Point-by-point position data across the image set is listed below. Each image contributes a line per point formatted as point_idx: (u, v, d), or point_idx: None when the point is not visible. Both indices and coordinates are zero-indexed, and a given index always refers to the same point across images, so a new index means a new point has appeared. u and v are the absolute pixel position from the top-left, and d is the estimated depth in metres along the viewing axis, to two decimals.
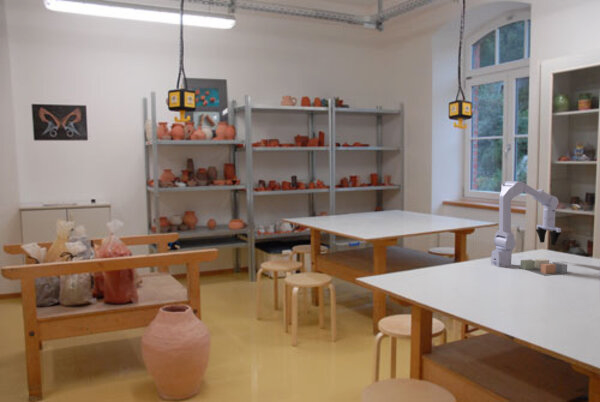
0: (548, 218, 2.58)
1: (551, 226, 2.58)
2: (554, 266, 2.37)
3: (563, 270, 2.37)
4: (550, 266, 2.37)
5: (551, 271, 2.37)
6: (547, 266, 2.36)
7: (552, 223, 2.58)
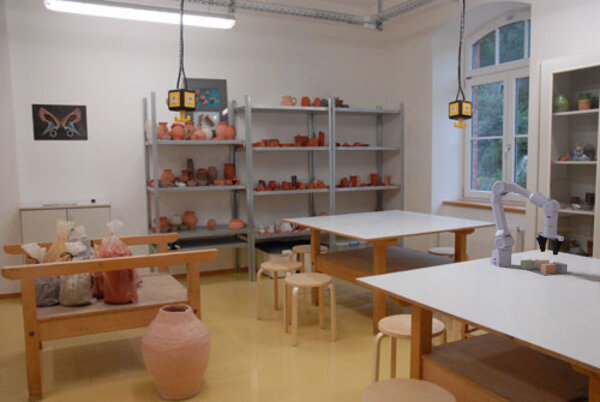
0: (544, 224, 2.36)
1: (553, 234, 2.34)
2: (554, 266, 2.37)
3: (563, 270, 2.37)
4: (550, 266, 2.37)
5: (551, 271, 2.37)
6: (547, 266, 2.36)
7: (554, 231, 2.34)
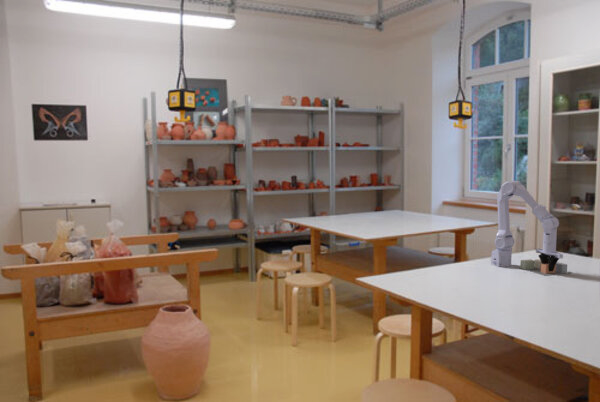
0: (543, 241, 2.37)
1: (552, 251, 2.34)
2: None
3: (563, 270, 2.37)
4: None
5: (551, 271, 2.37)
6: (547, 266, 2.36)
7: (553, 248, 2.34)
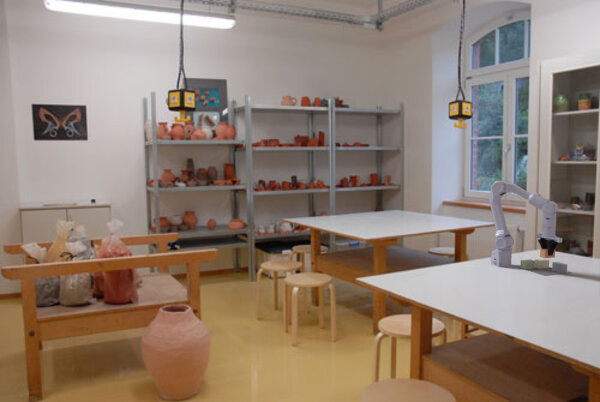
0: (543, 226, 2.38)
1: (551, 236, 2.35)
2: None
3: (563, 270, 2.37)
4: None
5: (550, 256, 2.38)
6: (546, 251, 2.37)
7: (552, 232, 2.35)
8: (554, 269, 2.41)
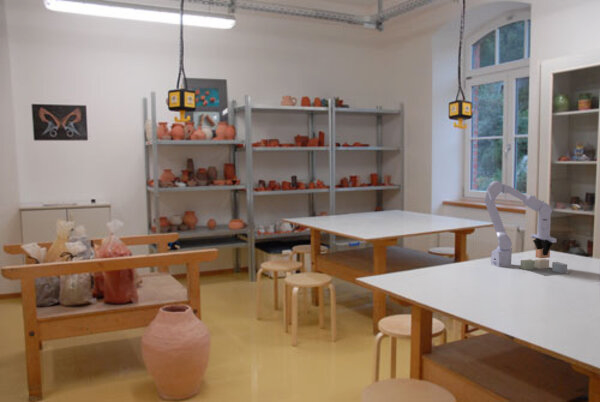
0: (539, 227, 2.45)
1: (546, 236, 2.44)
2: None
3: (563, 270, 2.37)
4: None
5: (545, 256, 2.47)
6: (542, 251, 2.46)
7: (547, 233, 2.44)
8: (554, 269, 2.41)
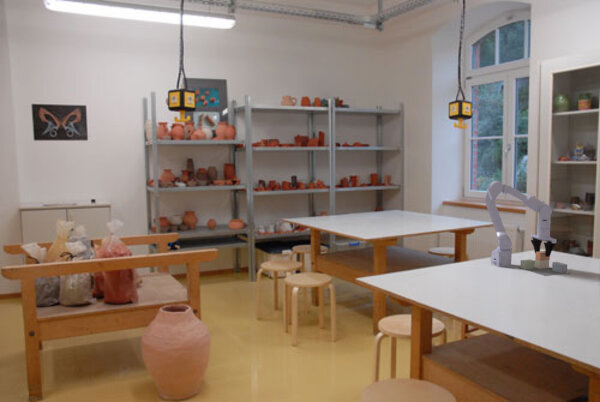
0: (539, 228, 2.45)
1: (546, 237, 2.44)
2: None
3: (563, 270, 2.37)
4: (544, 253, 2.46)
5: (545, 258, 2.47)
6: (541, 253, 2.46)
7: (547, 233, 2.44)
8: (554, 269, 2.41)
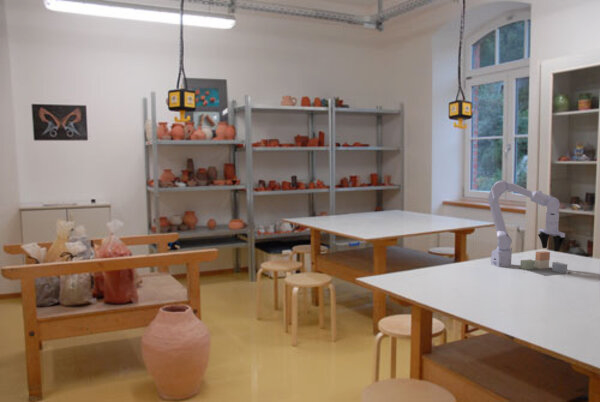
0: (547, 221, 2.42)
1: (554, 231, 2.40)
2: (548, 253, 2.47)
3: (563, 270, 2.37)
4: (544, 253, 2.46)
5: (545, 258, 2.47)
6: (541, 253, 2.46)
7: (555, 227, 2.40)
8: (554, 269, 2.41)
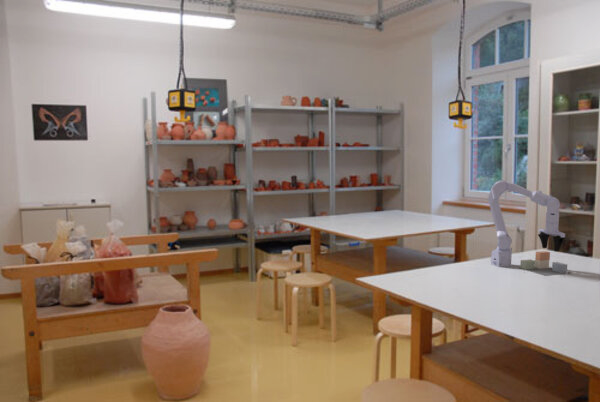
0: (547, 222, 2.42)
1: (554, 231, 2.40)
2: (548, 253, 2.47)
3: (563, 270, 2.37)
4: (544, 253, 2.46)
5: (545, 258, 2.47)
6: (541, 253, 2.46)
7: (555, 227, 2.40)
8: (554, 269, 2.41)
